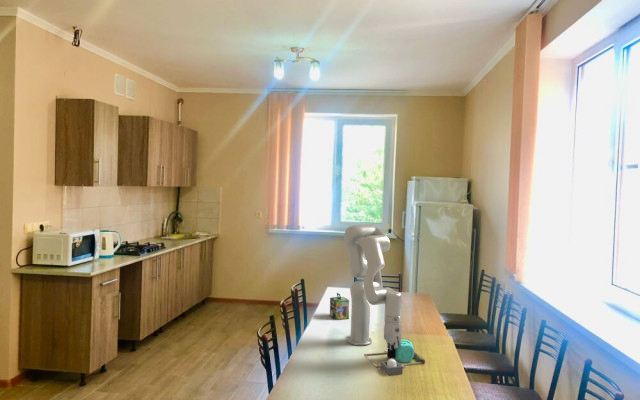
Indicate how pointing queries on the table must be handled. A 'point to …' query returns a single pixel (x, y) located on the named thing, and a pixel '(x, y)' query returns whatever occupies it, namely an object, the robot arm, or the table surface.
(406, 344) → the decorative dice
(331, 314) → the chalk box
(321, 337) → the table surface
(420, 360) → the lane
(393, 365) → the white ball
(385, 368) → the collar
